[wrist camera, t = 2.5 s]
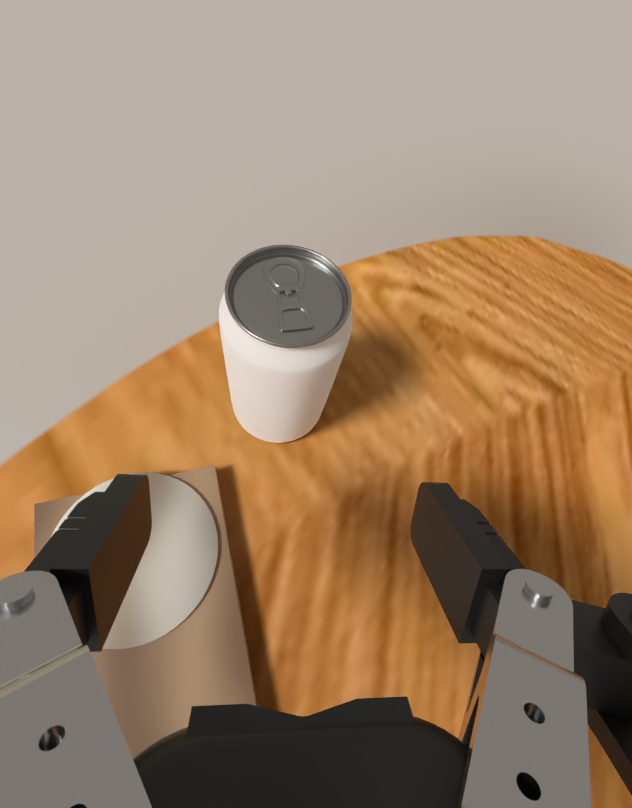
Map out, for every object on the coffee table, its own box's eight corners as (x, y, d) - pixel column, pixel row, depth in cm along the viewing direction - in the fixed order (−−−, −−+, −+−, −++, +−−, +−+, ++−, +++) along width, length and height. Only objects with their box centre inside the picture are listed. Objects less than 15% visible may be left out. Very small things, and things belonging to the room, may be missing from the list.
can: (312, 358, 30) (342, 233, 19) (331, 436, 28) (377, 346, 17) (226, 368, 29) (206, 241, 18) (239, 452, 26) (224, 364, 15)
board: (215, 463, 26) (212, 455, 24) (261, 726, 21) (261, 738, 19) (47, 500, 24) (31, 494, 22) (50, 804, 18) (30, 827, 17)
